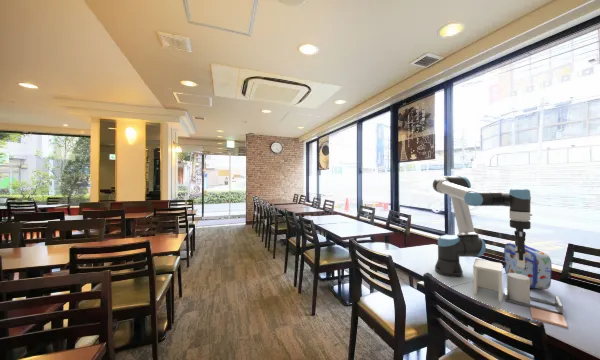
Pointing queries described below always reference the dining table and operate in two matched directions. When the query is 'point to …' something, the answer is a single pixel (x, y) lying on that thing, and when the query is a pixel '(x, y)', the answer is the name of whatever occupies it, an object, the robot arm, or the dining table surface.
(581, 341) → the dining table surface
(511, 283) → the cup
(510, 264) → the lunch box
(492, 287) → the shelf
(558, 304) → the frame
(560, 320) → the coaster
